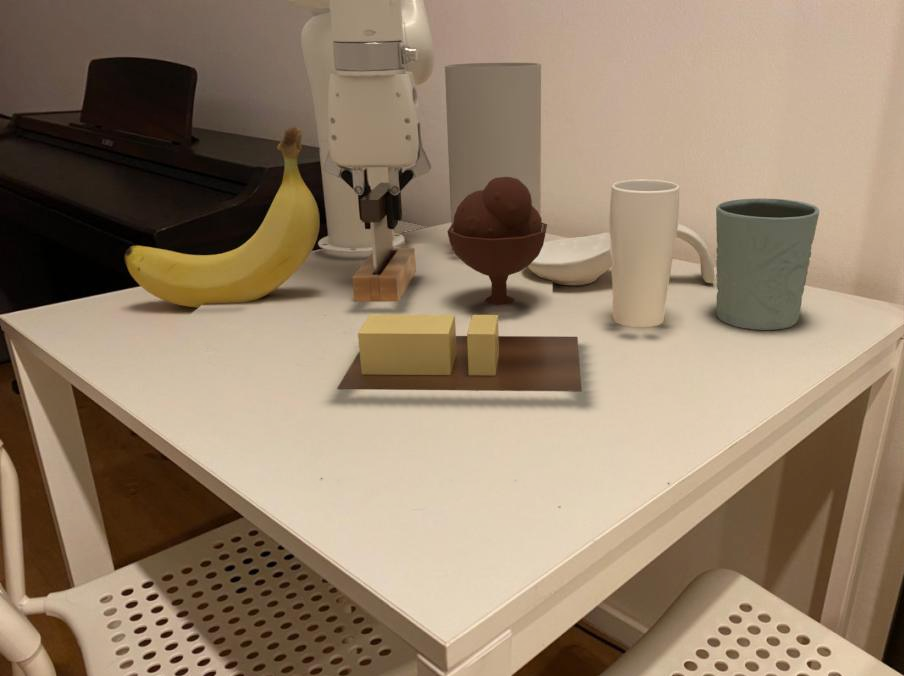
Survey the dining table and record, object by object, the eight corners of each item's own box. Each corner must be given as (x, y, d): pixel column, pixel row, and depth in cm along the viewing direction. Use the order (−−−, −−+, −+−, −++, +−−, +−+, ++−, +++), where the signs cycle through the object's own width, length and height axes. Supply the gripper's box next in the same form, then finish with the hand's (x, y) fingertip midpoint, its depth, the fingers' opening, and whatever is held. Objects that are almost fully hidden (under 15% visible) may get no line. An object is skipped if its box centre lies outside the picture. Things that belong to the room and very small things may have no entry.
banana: (125, 315, 92) (86, 134, 84) (144, 299, 97) (110, 127, 89) (323, 310, 92) (303, 129, 84) (331, 295, 97) (314, 123, 89)
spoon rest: (519, 292, 97) (519, 234, 94) (525, 266, 108) (524, 212, 105) (719, 294, 95) (724, 234, 92) (704, 267, 105) (709, 212, 103)
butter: (373, 353, 76) (369, 314, 75) (456, 354, 76) (455, 314, 74) (361, 374, 72) (357, 332, 70) (450, 375, 71) (448, 333, 69)
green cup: (810, 335, 82) (828, 218, 77) (709, 330, 84) (720, 216, 79) (795, 304, 91) (810, 197, 86) (704, 300, 93) (713, 196, 88)
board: (369, 346, 81) (368, 335, 81) (577, 347, 80) (577, 336, 80) (338, 401, 69) (336, 388, 69) (581, 403, 68) (581, 390, 68)
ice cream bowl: (548, 295, 96) (549, 167, 90) (543, 327, 85) (544, 185, 79) (460, 294, 97) (455, 167, 91) (445, 325, 86) (438, 185, 80)
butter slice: (473, 354, 76) (472, 314, 74) (499, 354, 75) (498, 314, 74) (468, 375, 71) (466, 333, 69) (495, 376, 71) (494, 333, 69)
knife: (384, 250, 101) (380, 182, 98) (400, 250, 101) (396, 182, 98) (366, 274, 91) (360, 199, 88) (383, 274, 91) (378, 199, 88)
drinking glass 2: (670, 342, 81) (680, 192, 75) (602, 338, 82) (608, 190, 76) (670, 319, 87) (680, 179, 81) (608, 316, 88) (613, 178, 82)
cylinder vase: (502, 237, 122) (499, 61, 112) (558, 253, 113) (561, 63, 103) (435, 252, 115) (425, 65, 105) (489, 270, 106) (485, 68, 96)
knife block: (378, 278, 104) (375, 247, 102) (416, 278, 103) (414, 247, 102) (355, 310, 92) (352, 277, 90) (398, 311, 91) (396, 277, 90)
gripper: (446, 56, 90) (452, 219, 98) (307, 57, 91) (323, 218, 99) (437, 61, 83) (444, 235, 91) (287, 62, 84) (306, 234, 92)
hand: (381, 225), depth 95 cm, fingers closed on knife, 2 cm apart
